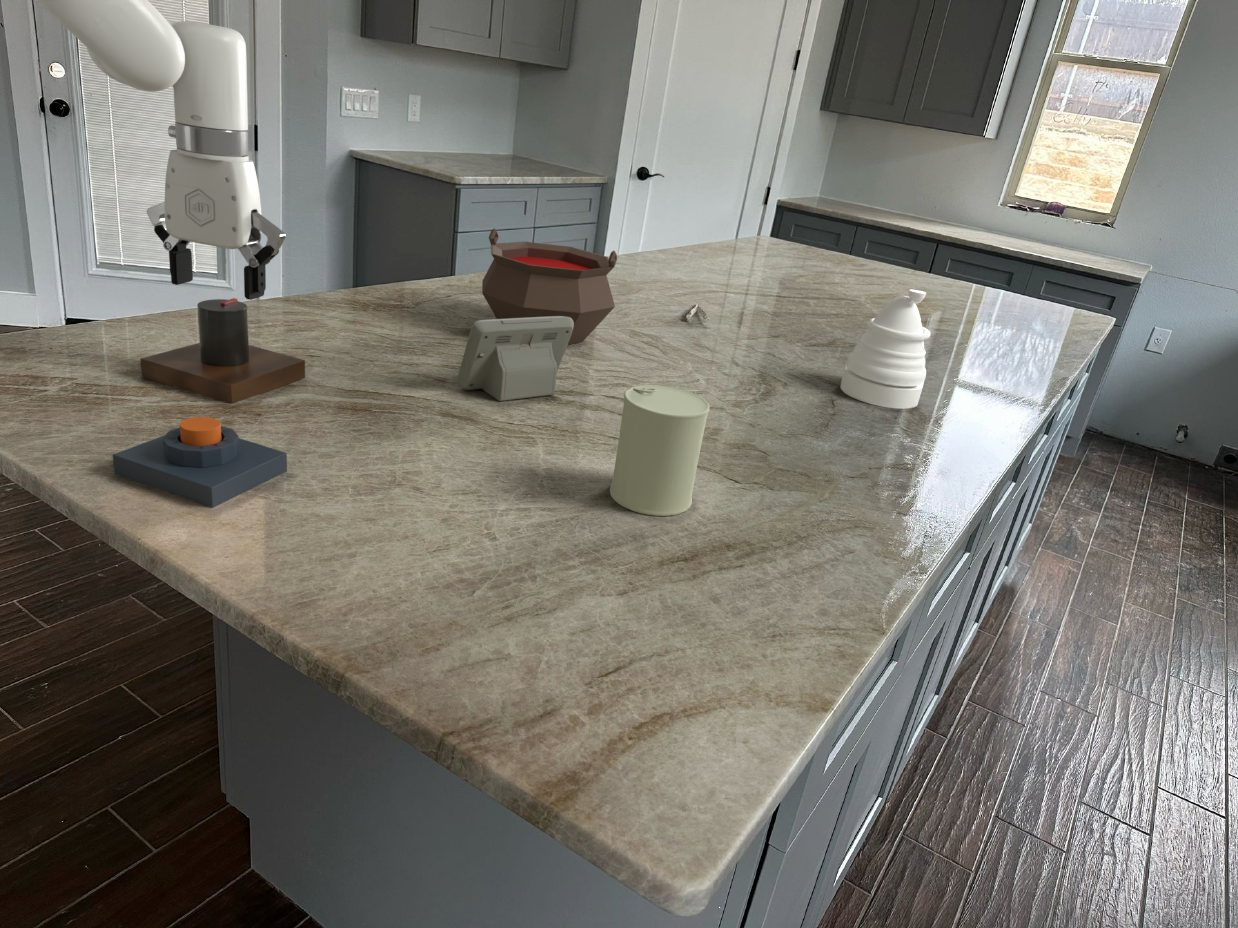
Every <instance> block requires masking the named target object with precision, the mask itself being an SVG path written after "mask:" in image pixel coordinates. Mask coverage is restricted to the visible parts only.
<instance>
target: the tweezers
mask: <svg viewBox="0 0 1238 928" xmlns="http://www.w3.org/2000/svg"><path fill="white" fill-rule="evenodd" d="M696 312H698V313H699V314H700V315H701V316H702V326H706V325H707V324H709V322H710V317H709V316H708V314H707V312H706V311H705V310H704V309H703V308H702V307H701V306H700V305H699V303H698V302H697V303H696V305H695V306H694V307H692V309H691V310H690V311H689V313H687V314H686V316H685V318H686V320H687V322H688V324H691V323H692V321H693V320H694V317H693V316H694V314H696Z"/></svg>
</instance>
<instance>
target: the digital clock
mask: <svg viewBox="0 0 1238 928" xmlns="http://www.w3.org/2000/svg"><path fill="white" fill-rule="evenodd" d="M573 326H574V322H573V320H572V318H570V317H565V316H549V317H529V318H510V319H497V318H494V319H479V320H476V321H474V323H472V326H471V328H470V332H469V334H468V338H467V341H466V346H465V350H464V352H463V357H462V360H461V364H460V367H459V370H458V375H457V377H456V385H457V386H458V387H459V388H460V389H463V390H470V391H471V390H483V391H484V392H485V393H487V394H489V395H490V396H492V397H493V398H494V399H496V400H497V401H499V402H504V401H513V400H521V399H530V398H538V397H547V396H548V397H549V396H554V395H555V394H556V383H557V376H558V371H559V369H560V367H561V363H562V361H563V358H564V356H565V354H566V353H565V352H566V350H567V347H568V346H569V345H568V342H569V339H570V336H571V333H572V330H573Z"/></svg>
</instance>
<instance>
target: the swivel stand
mask: <svg viewBox="0 0 1238 928" xmlns="http://www.w3.org/2000/svg"><path fill="white" fill-rule="evenodd" d="M139 361H140V371H141V372H140V373H141V378H142V379H145V380H149V381H151V382H154V383H158V384H162V385H165V386H169V387H174V388H178V389H182V390H184V391H187V392H191V393H194V394H196V395H197V394H198V395H201V396H203V397H207V398H210V399H214V400H217V401H220V402H224V403H227V404H230V405H233V404H235V403H239V402H242V401H244V400H247V399H250V398H253V397H255V396H257V395H263V394H265V393H267V392H271V391H274V390H276V389H279V388H282V387H284V386H287V385H290V384H292V383H293V384H294V383H295V382H298V381H301V380H303V379H305V378H306V360H305V359H301V358H298V357H295V356H291V355H287V354H283V353H279V352H276V351H273V350H269V349H265V348H261V347H258V346H254V345H250V344H249V361H248V362H246V363H244V364H240V365H234V366H217V365H211V364H207V363H205V362H203V361H202V360H201V354H200V342H196V343H193V344H190V345H186V346H183V347H179V348H174V349H171V350H167V351H164V352H160V353H156V354H152V355H148V356H145V357H141V358H140V359H139Z"/></svg>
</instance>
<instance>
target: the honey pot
mask: <svg viewBox="0 0 1238 928" xmlns="http://www.w3.org/2000/svg"><path fill="white" fill-rule="evenodd" d="M926 295H927V292H926V291H922V290H920V289H919V290H918V289H909V290H908V296H907V295H901V296H897V297H895V298H894V299H892V300H891V301H890V302H888V303H887V304H886V305H885V306H884V307H883V308H882V310H880V311H879V313H878V314H877V315H876V316H875V317H873V318H869V319H868V321H867V326H868V327H867V329H866V330H865V332H864V333H863V335H862V336H860V337H859V339H858V342H857V344H855V345H854V348H853V350H852V351H851V352H850V353H849V355H848V357H847V359H846V364H845V368H844V370H843V374H842V378H841V381H840V386H839V388H840V390H841V391H842V392H843V393H844V394H845V395H847V396H848V397H851V398H853V399H854V400H858V401H860V402H862V403H863V402H864V403H866V404H869V405H873V406H877V407H882V408H887V409H897V410H902V409H903V410H905V409H906V410H907V409H908V410H909V409H913V408H916V407H917V406H918V405H919V401H920V398H921V395H922V391H923V389H924V384H925V380H926V379H927V369H926V358H925V357H926V354H927V352H926V350H925V340H927V339H929V338H930V337H931V331H930V330H929V329H928V328H926V327H924V326H923V324H922V319H921V314H920V312H919V308H918V306H917V304H919V303H921V302H922V301H923V300H924V299H925V297H926Z"/></svg>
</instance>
